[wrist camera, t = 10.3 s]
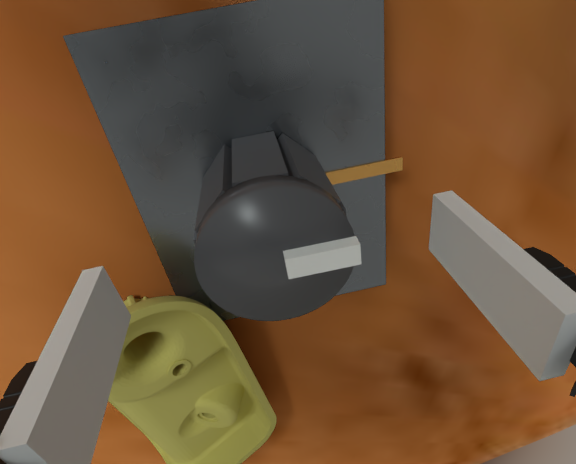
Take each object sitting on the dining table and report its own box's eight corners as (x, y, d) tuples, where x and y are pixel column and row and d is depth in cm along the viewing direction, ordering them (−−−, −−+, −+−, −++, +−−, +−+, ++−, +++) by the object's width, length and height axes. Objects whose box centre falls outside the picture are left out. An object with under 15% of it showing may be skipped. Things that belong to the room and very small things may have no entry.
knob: (221, 250, 22) (217, 344, 16) (188, 146, 19) (168, 216, 12) (327, 228, 22) (364, 313, 16) (315, 121, 19) (356, 178, 13)
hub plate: (74, 33, 17) (10, 45, 12) (392, -25, 17) (462, -38, 12) (191, 312, 26) (184, 385, 21) (391, 268, 27) (430, 328, 22)
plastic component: (282, 427, 32) (181, 516, 28) (241, 370, 37) (152, 439, 34) (198, 270, 20) (5, 389, 16) (156, 219, 25) (3, 302, 22)
